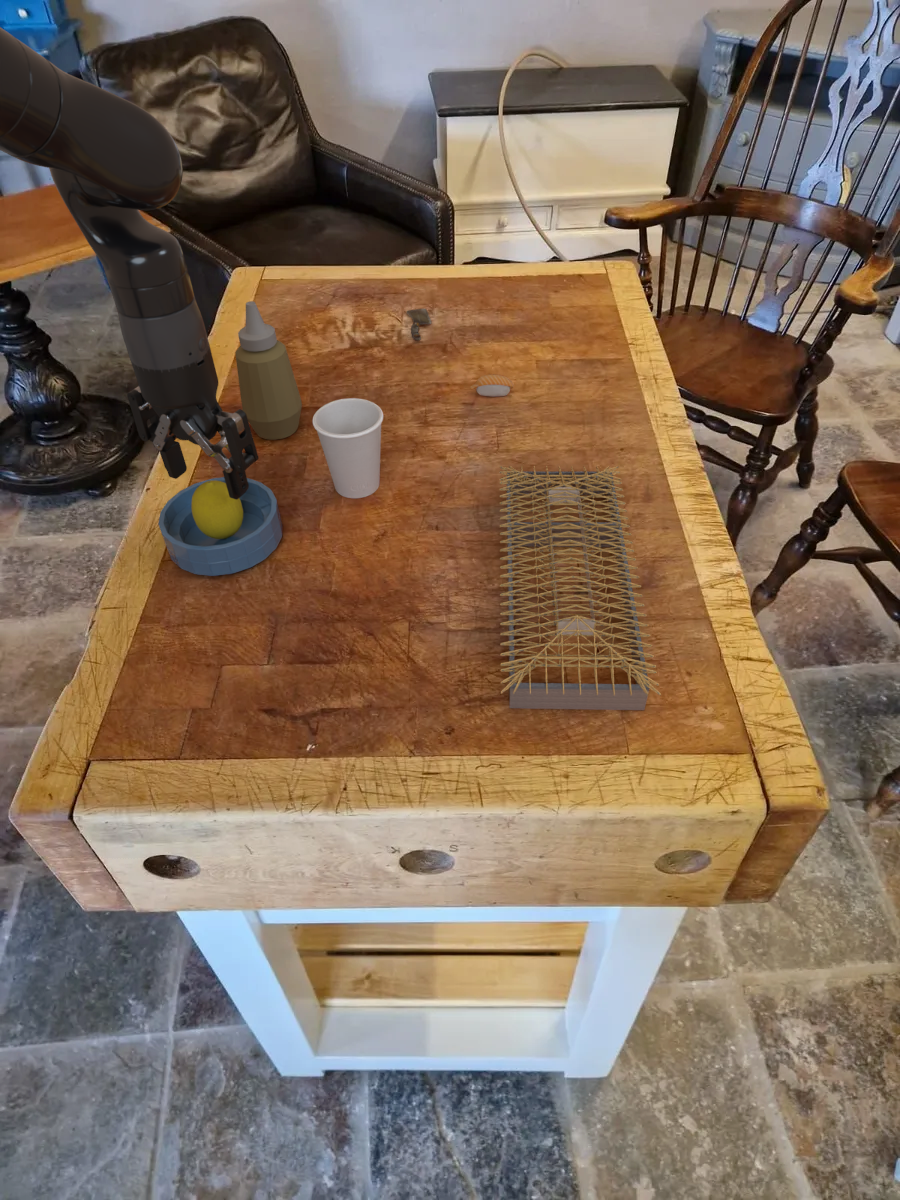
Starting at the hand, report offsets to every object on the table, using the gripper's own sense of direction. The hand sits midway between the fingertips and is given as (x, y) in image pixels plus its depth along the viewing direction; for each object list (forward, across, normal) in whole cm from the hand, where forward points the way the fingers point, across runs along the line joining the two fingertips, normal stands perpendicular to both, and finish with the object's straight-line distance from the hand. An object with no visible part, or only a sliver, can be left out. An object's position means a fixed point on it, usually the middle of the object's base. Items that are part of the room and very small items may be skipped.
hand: (208, 484), depth 88 cm
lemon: (+8, 0, 0) cm, 8 cm away
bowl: (+8, 0, 0) cm, 8 cm away
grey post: (+7, -6, +57) cm, 58 cm away
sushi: (+8, +14, +43) cm, 46 cm away
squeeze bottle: (+8, -9, +22) cm, 25 cm away
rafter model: (+8, +39, +10) cm, 41 cm away
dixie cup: (+8, +8, +16) cm, 20 cm away
